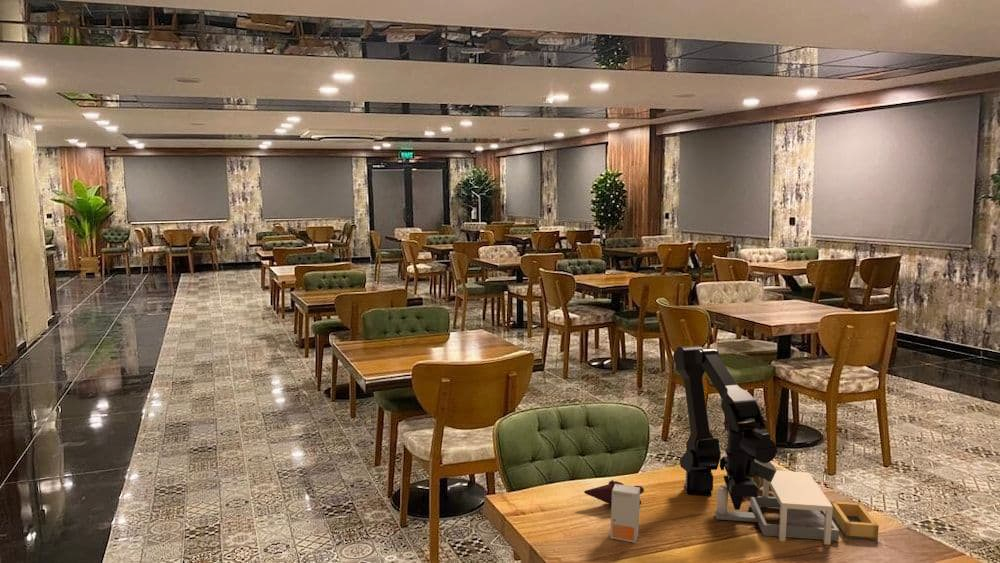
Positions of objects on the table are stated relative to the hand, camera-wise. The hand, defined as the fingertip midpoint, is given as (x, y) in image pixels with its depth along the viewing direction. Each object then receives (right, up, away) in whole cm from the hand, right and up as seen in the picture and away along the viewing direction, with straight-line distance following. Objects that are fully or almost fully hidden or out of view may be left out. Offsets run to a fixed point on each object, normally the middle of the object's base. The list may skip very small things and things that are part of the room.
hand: (736, 509), depth 175 cm
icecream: (-29, -2, +7) cm, 30 cm away
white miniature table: (+13, -3, -2) cm, 14 cm away
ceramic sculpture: (+10, -1, +19) cm, 22 cm away
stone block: (+15, -3, -2) cm, 15 cm away
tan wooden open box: (+27, -3, -4) cm, 27 cm away
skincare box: (-29, -4, -9) cm, 31 cm away
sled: (+8, -2, -1) cm, 8 cm away
